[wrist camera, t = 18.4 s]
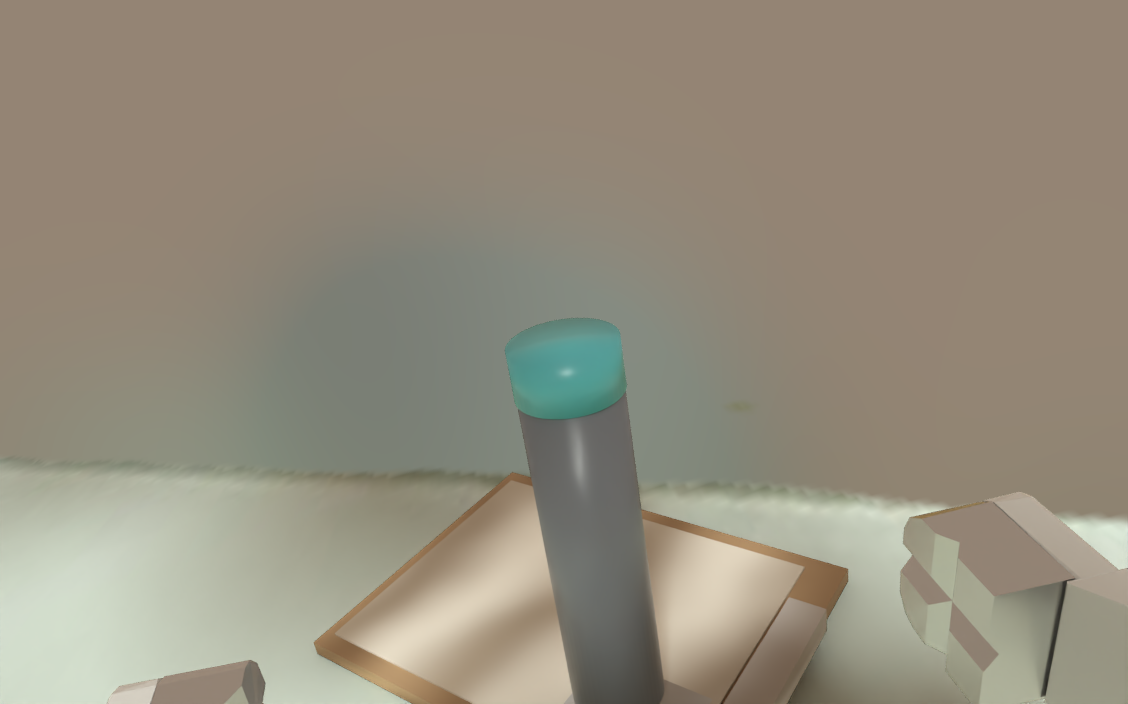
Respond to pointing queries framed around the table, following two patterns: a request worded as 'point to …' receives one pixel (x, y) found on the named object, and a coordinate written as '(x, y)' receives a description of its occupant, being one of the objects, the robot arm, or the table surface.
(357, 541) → the table surface
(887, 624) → the table surface
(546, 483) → the marker
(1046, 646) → the robot arm
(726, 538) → the clipboard
